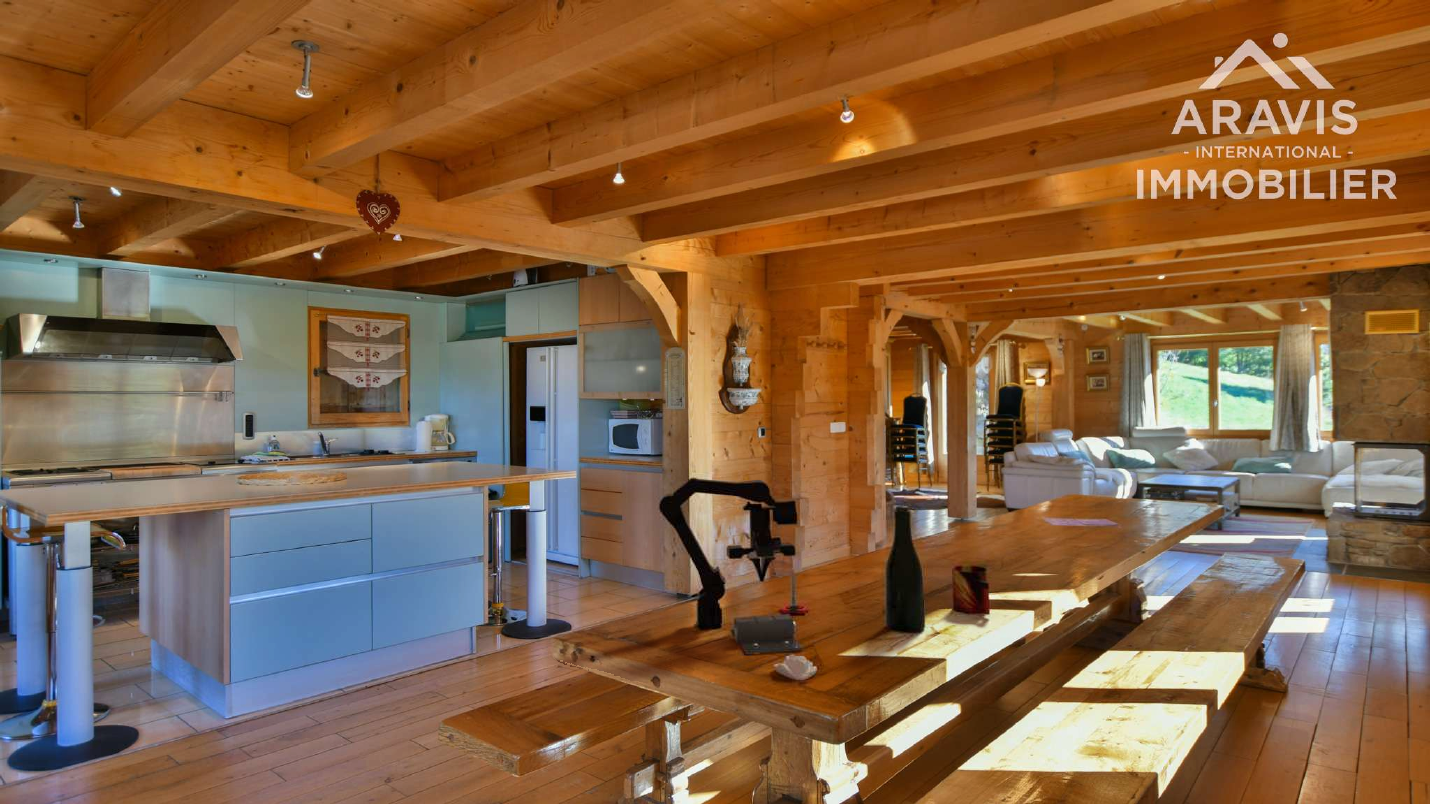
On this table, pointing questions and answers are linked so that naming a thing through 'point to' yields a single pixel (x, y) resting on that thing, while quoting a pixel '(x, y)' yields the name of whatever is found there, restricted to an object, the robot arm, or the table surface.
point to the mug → (970, 590)
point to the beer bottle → (904, 579)
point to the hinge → (765, 634)
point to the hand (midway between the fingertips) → (761, 581)
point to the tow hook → (793, 601)
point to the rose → (796, 667)
